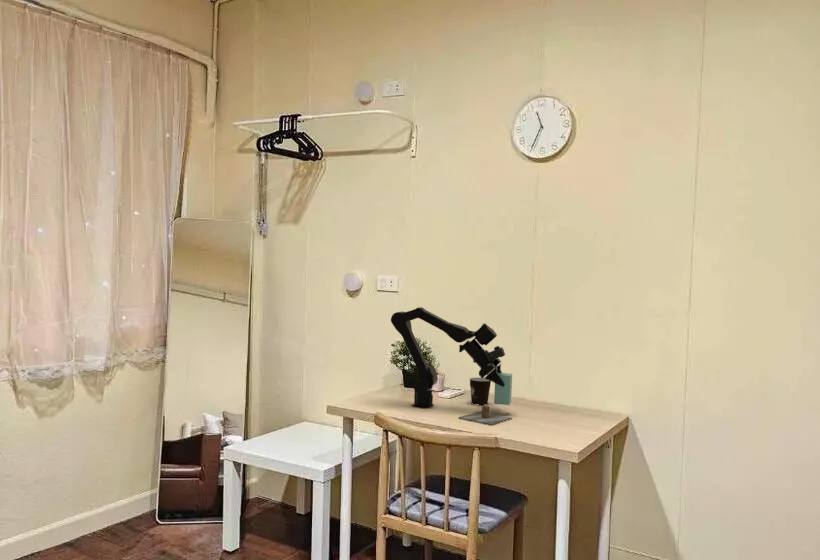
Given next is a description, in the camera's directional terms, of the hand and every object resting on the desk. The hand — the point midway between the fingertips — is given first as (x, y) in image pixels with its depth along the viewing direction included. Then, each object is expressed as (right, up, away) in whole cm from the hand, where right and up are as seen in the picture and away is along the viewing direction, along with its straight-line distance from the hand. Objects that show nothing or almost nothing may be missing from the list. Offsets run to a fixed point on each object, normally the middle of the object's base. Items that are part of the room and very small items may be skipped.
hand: (505, 384), depth 254 cm
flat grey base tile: (-9, -11, -9) cm, 17 cm away
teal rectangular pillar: (-1, -7, 0) cm, 7 cm away
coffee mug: (-8, -11, +19) cm, 23 cm away
